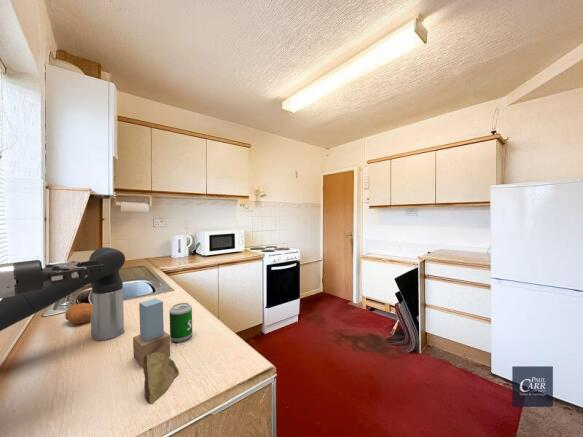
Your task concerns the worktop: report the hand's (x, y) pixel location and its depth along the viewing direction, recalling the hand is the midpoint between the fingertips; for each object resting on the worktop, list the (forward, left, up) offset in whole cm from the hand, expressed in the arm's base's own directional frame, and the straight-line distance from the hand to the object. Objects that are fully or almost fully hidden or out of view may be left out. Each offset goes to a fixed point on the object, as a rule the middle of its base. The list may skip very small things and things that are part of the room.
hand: (101, 266), depth 67 cm
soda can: (+10, +23, -32) cm, 40 cm away
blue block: (+7, +11, -25) cm, 28 cm away
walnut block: (+7, +11, -32) cm, 34 cm away
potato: (-40, +32, -32) cm, 61 cm away
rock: (+18, -1, -32) cm, 37 cm away
